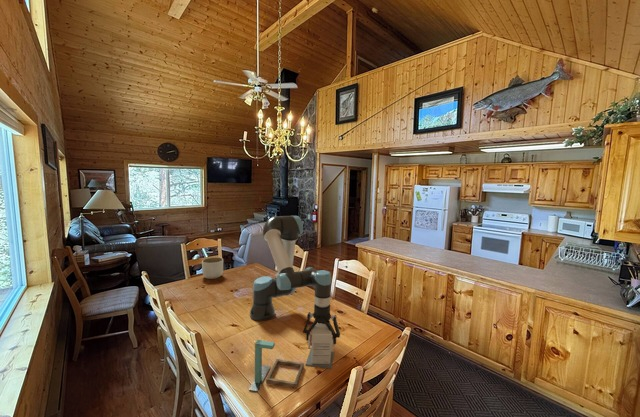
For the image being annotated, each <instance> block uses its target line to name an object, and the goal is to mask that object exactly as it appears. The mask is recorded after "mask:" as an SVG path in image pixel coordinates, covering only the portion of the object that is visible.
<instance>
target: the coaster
mask: <svg viewBox="0 0 640 417" xmlns="http://www.w3.org/2000/svg"><path fill="white" fill-rule="evenodd" d="M334 357H335V351H334V350H333V352H331V360H330V364H312V347H310V350H309V353H308V357H307V359H306V362H305V366H308V367H314V368H321V369H329V370H332V366H333V362H334Z"/></svg>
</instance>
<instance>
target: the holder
mask: <svg viewBox="0 0 640 417" xmlns="http://www.w3.org/2000/svg"><path fill="white" fill-rule="evenodd" d="M278 366H283V367H289V368H295V369H296V368H297V369H299V370H298V371H297V374H296V378H295V380H294V381H289V380H284V379H277V378H273V376H274V374H275V372H276V371H277V368H278ZM304 367H305V362H304V363H303V362H297V361H292V360H291V361H290V360H284V359H280V358H279V359H277V358H276V359H275V362H274V363H273V365H272V367H271V368H270V370H269V372H268V374H267V376H266V378H265V384H266V385H271V386H275V387H276V386H278V387H284V388H287V389H288V388H289V389H293V390H297V387H298V385H299V383H300V380H301V377H302V373H303V370H304V369H305V368H304Z"/></svg>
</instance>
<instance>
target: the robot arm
mask: <svg viewBox="0 0 640 417" xmlns="http://www.w3.org/2000/svg"><path fill="white" fill-rule="evenodd" d="M262 228H263V229H262V236H263V239H264V241H265V242H267V245H268V248H269V251H270V254H271V255H272V258H273V261H274V265H275V267H276V270H277V273H276V274H275V277H274V278H272V277H271V276H265V275H264V276H260V277H258V278H257V279H255V280H254V281H253V286H252V302H253V303H252V305H251V309H250V310H249V311H250V313H249V316H250V318H251V319H252V320H254V321H258V322H264V321H269V320H271V319H272V318H274V316H275V315H276V314H275V311H276V310H275V307H274V303H273V298H279V297H285V296H290V295H292V294H294V293H295V291H296V289H298V288H304V287H310V286H311V287H312V288H314V301H313V302H314V305H313V306H314V308H313V312H312V313H311V311H309V312H307V315H306V316H307V319H306V322H305V324H304V327H303V329H302V334H305V336H306V337H305V338H306V339H305V340H306V342H308V344H307V349H310V350H311V347H312V329H313V328H314V326H315V325H316V324H326V326H327V327H328V329H329V331H331V332H332V341H331V352H333V351H334V345H336V344H337V339H338V338H340V337H341V331H340V328H339V323H338V321H337V317H338V316H337V315H336V314H335V315H332V314H331V293H332V292H331V291H332V281H333V280H332V273H331V272H330V271H328V270H321V269H320V270H318V269H316V268H314V267H312V266H309V267H306V268H305V269H303V270H300V271H299V270H298V271H295V269H294V267H293V266H294V260H295V259H294V257H295V256H294V255H295V249H296V241H297V240H299V236H300V235H302V234H303V232H304V223H303V220H302V219H301V217H300V216H298V215H281V216H279V215H276V216H272V217H270V218H269V219H267V220H266V222H264V225H263V227H262ZM312 317H313V318H314V320H313V322H312V324H311V325H310V326H309V323H310V321H311V319H313V318H312ZM330 319H331V321H332V322H333V325H332V323H331V321H330ZM308 326H309V328H308ZM333 326H334V328H333ZM307 328H308V329H307Z"/></svg>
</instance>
